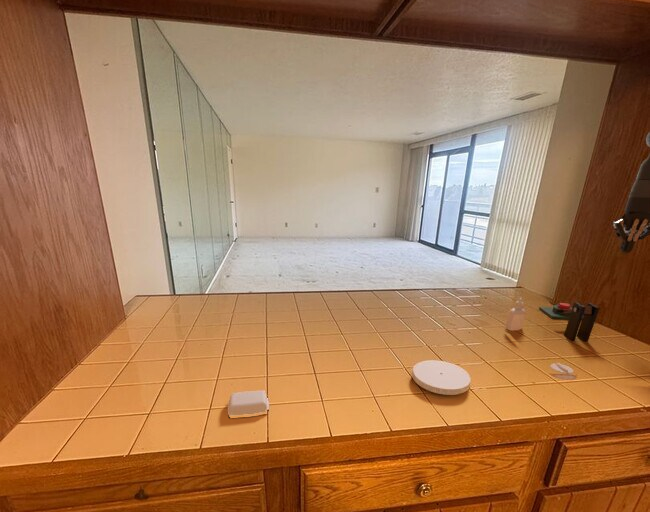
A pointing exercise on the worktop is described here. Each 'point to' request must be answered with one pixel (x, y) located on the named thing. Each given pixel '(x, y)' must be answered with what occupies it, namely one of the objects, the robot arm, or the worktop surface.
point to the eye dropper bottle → (516, 317)
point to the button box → (552, 314)
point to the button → (564, 306)
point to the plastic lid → (441, 377)
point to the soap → (248, 402)
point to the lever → (587, 310)
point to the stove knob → (563, 371)
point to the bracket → (585, 324)
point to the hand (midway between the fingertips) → (625, 252)
